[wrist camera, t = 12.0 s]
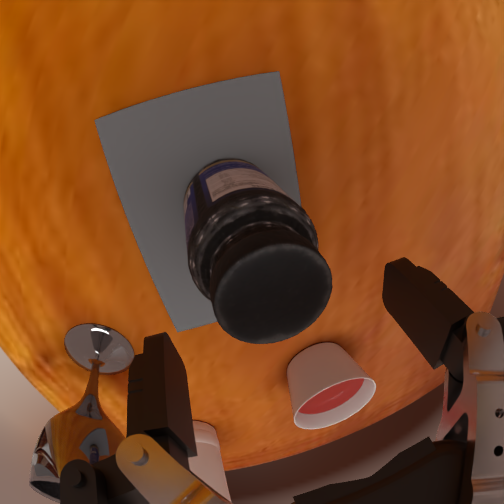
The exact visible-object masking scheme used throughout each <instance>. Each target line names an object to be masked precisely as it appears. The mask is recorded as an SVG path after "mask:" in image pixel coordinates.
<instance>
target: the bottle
mask: <svg viewBox="0 0 504 504" xmlns="http://www.w3.org/2000/svg"><path fill="white" fill-rule="evenodd" d="M193 428H194V435H195V442H196V448H197V454H198V456H195V457H189V458H188V460H189V467H190V470H191V471H192V472H193V473H195V474H196V475H197V476H198V477H199V478H201V479H202V480H203V481H204V482H205V483H207V484H208V485H209V486H210V487H212V488H213V489H214V490H215V491H217V492H218V493H219V494H221V495H222V496H223V497H225V498H226V499H227V500H229V501H230V502H231V499H230V495H229V491H228V486H227V482H226V477H225V473H224V468H223V464H222V459H221V454H220V445H219V441H218V438H217V434H216V430H215V429H214V427H212V426H211V425H209V424H207V423H204V422H200V421H193Z"/></svg>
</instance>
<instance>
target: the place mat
mask: <svg viewBox="0 0 504 504" xmlns="http://www.w3.org/2000/svg"><path fill="white" fill-rule="evenodd" d="M95 124H96V127H97V131H98V134H99V137H100V141H101V144H102V147H103V150H104V154H105V157H106V160H107V163H108V166H109V169H110V172H111V175H112V178H113V181H114V183H115V186H116V189H117V192H118V195H119V197H120V200H121V203H122V206H123V208H124V211H125V214H126V216H127V219H128V221H129V224H130V227H131V229H132V232H133V234H134V237H135V239H136V242H137V244H138V247H139V249H140V251H141V254H142V256H143V258H144V261H145V263H146V265H147V268H148V270H149V272H150V275H151V277H152V279H153V281H154V284H155V286H156V288H157V290H158V292H159V295H160V297H161V299H162V301H163V303H164V305H165V307H166V310H167V312H168V314H169V316H170V318H171V320H172V322H173V324H174V326H175V328H176V330H177V332H180V331H184V330H188V329H192V328H195V327H199V326H203V325H206V324H210V323H214V322H217V319H216V317H215V314H214V311H213V307H212V303H211V301H210V300H208V299H207V298H206V297H205V296H203V295H202V293H201V292H200V291H199V289H198V288H197V287H196V285H195V283H194V282H193V280H192V276H191V274H190V271H189V267H188V255H187V245H186V234H185V219H184V197H185V192H186V190H187V187H188V185H189V183H190V181H191V180H192V178H193V177H194V176H195V175H196V174H197V173H198V172H199V171H201V170H202V169H203V168H204V167H205V166H207V165H209V164H211V163H213V162H215V161H217V160H221V159H241V160H244V161H247V162H251V163H253V164H254V165H256V166H257V167H258V168H259V169H261V170H262V171H263V172H264V173H265V174H266V175H267V176H268V177H269V178H271V179H272V180H273V181H274V182H275V183H276V184H277V185H278V186H279V187H280V188H281V189H282V190H283V191H284V192H285V193H286V194H287V195H288V196H290V197H291V198H292V199H293V200H294V201H295V202H296V203H297V204H298V205H299V206H301V200H300V193H299V186H298V179H297V172H296V165H295V159H294V153H293V146H292V140H291V134H290V128H289V122H288V116H287V111H286V105H285V100H284V94H283V89H282V84H281V78H280V73H279V71H277V72H270V73H263V74H257V75H251V76H246V77H240V78H235V79H230V80H225V81H221V82H216V83H211V84H207V85H203V86H199V87H195V88H191V89H187V90H183V91H180V92H176V93H172V94H169V95H165V96H162V97H159V98H155V99H152V100H149V101H146V102H143V103H140V104H137V105H134V106H131V107H128V108H125V109H122V110H120V111H117V112H114V113H112V114H109V115H106V116H104V117H101V118H99V119H96V120H95Z"/></svg>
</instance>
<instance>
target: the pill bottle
mask: <svg viewBox="0 0 504 504" xmlns="http://www.w3.org/2000/svg"><path fill="white" fill-rule="evenodd" d="M184 219H185V234H186V245H187V255H188V267H189V271H190V274H191V276H192V280H193V282H194V283H195V285H196V287H197V288H198V289H199V291H200V292H201V293H202V295H203V296H205V297H206V298H207V299H208V300H210V301H211V303H212V307H213V311H214V314H215V317H216V319H217V321H218V323H219V325H220V326H221V327H222V328H223V330H224V331H226V332H227V333H228V334H230V335H231V336H232V337H234V338H236V339H238V340H240V341H244V342H247V343H254V344H267V343H275V342H279V341H283V340H285V339H288V338H291V337H293V336H295V335H297V334H298V333H300V332H302V331H303V330H305V329H306V328H307V327H309V326H310V325H311V324H312V323H314V322H315V321H316V319H317V318H318V317H319V316H320V314H321V313H322V312H323V310H324V309H325V307H326V305H327V303H328V301H329V298H330V294H331V292H332V275H331V271H330V268H329V266H328V264H327V263H326V260H325V259H324V258H323V256H322V255H321V254H320V253H319V251H318V238H317V233H316V230H315V228H314V225H313V223H312V221H311V219H310V218H309V216H308V215H307V214H306V212H305V210H304V209H303V208H302V207H301V206H299V205H298V204H297V203H296V202H295V201H294V200H293V199H292V198H291V197H290V196H288V195H287V194H286V193H285V192H284V191H283V190H282V189H281V188H280V187H279V186H278V185H277V184H276V183H275V182H274V181H273V180H272V179H271V178H269V177H268V176H267V175H266V174H265V173H264V172H263V171H262V170H261V169H259V168H258V167H257V166H256V165H254V164H253V163H251V162H247V161H244V160H241V159H221V160H217V161H215V162H213V163H211V164H209V165H207V166H205V167H204V168H203V169H202V170H201V171H199V172H198V173H197V174H196V175H195V176H194V177H193V178H192V180H191V181H190V183H189V185H188V187H187V190H186V192H185V197H184Z"/></svg>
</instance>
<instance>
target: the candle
mask: <svg viewBox="0 0 504 504" xmlns="http://www.w3.org/2000/svg"><path fill="white" fill-rule="evenodd" d="M287 380H288V387H289V393H290V399H291V406H292V412H293V418H294V422H295V424H296V425H297V426H298V427H300V428H303V429H318V428H323V427H327V426H331V425H333V424H336V423H338V422H341V421H343V420H345V419H347V418H348V417H350V416H352V415H353V414H355V413H356V412H358V411H359V410H360V409H361V408H363V407H364V406H365V405H366V404H367V403H368V402H369V400H370V399H371V398H372V396H373V395H374V393H375V389H376V384H375V382H374V381H373V379H372V378H371V377H370V376H369V375H368V374H367V373H366V372H365V371H364V370H363V369H362V368H361V367H360V366H359V365H358V364H357V363H356V361H355V360H354V359H353V358H352V357H351V356H350V355H349V354H348V353H347V352H346V351H345V350H344V349H343V348H342V347H341V346H339V345H338V344H335V343H329V342H327V343H320V344H316V345H313V346H310V347H308V348H306V349H305V350H303V351H301V352H300V353H299V354H297V355H296V356H295V357H294V358H293V359H292V361H291V362H290V364H289V365H288V368H287Z"/></svg>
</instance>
